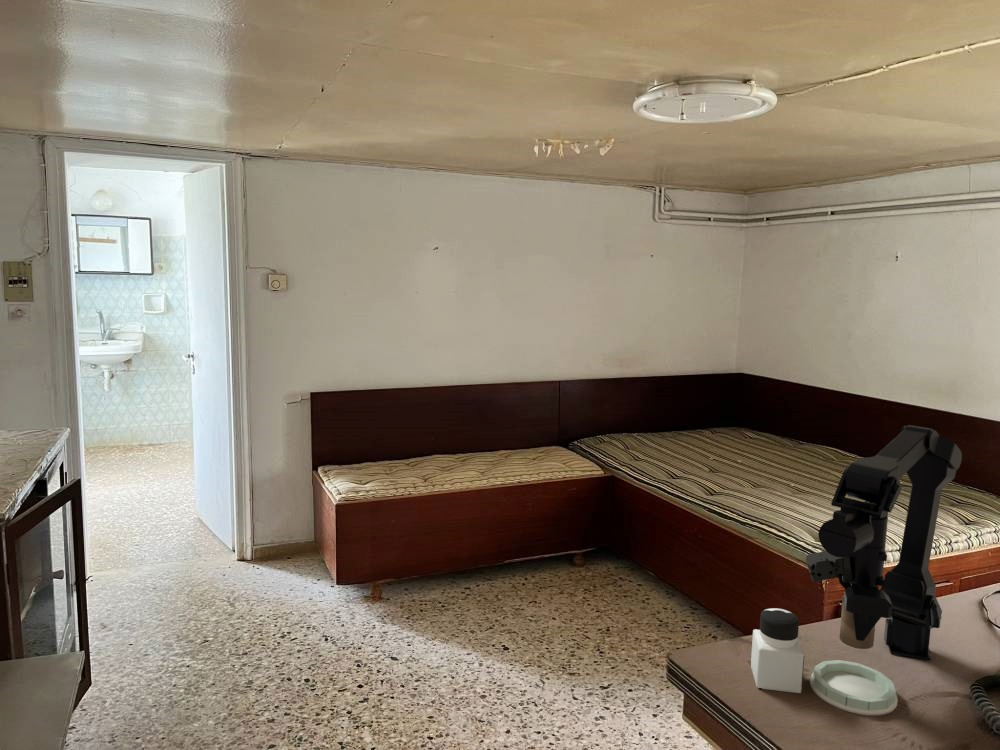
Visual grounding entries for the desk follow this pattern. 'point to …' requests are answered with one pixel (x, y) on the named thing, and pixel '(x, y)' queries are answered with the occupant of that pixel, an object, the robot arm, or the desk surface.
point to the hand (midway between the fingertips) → (857, 632)
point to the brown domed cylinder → (853, 632)
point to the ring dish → (854, 687)
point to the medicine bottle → (777, 652)
